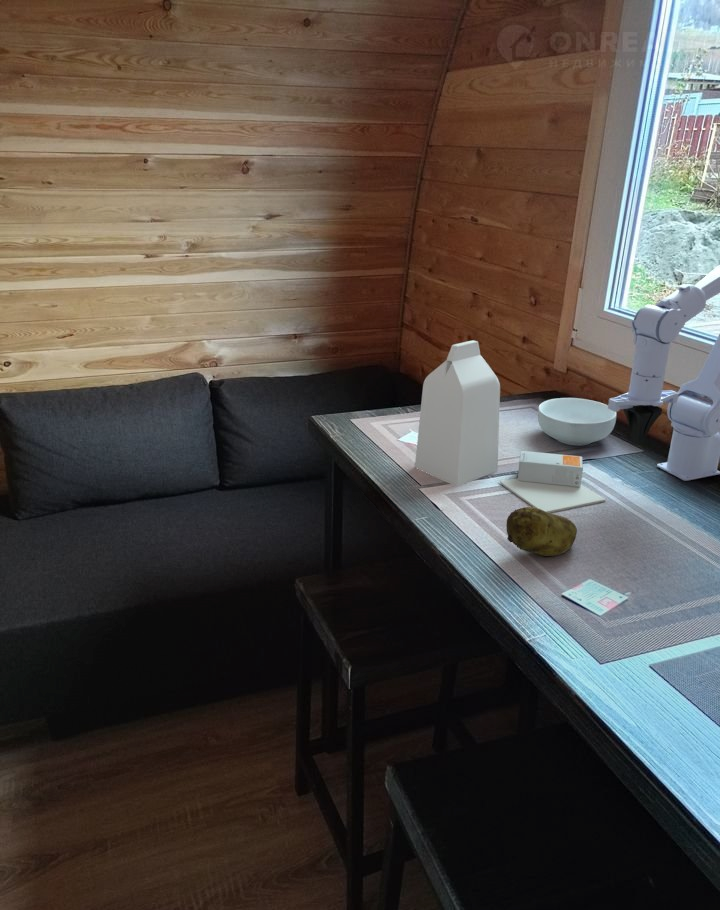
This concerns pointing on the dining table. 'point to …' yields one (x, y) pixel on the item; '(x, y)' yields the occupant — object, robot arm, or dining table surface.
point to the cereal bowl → (576, 420)
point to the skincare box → (550, 468)
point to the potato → (540, 531)
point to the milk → (459, 418)
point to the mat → (552, 495)
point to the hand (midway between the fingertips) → (636, 442)
